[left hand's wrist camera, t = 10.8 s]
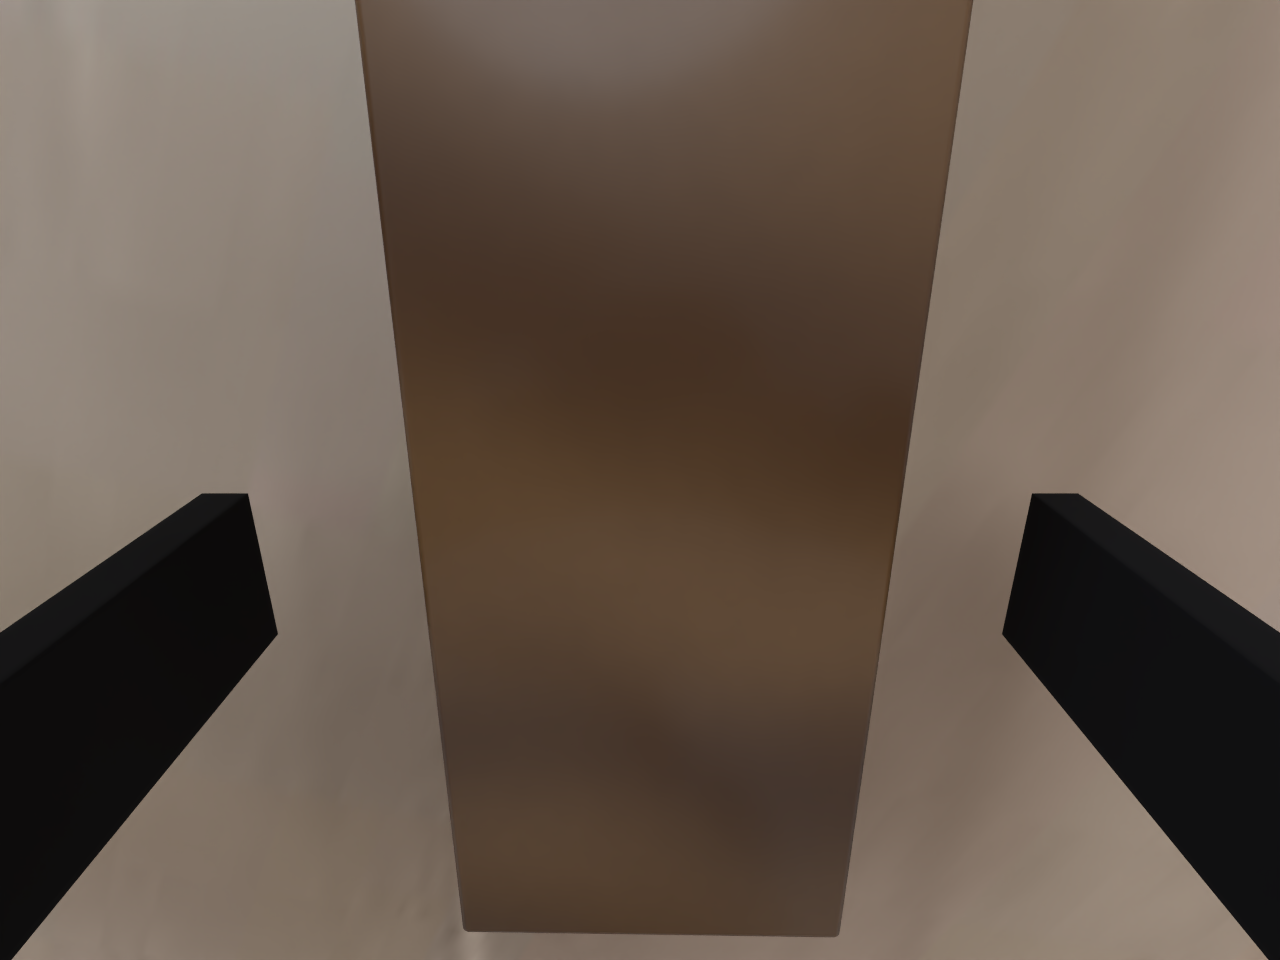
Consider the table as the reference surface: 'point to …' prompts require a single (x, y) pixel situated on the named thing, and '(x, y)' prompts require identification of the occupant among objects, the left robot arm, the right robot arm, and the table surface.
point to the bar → (658, 429)
